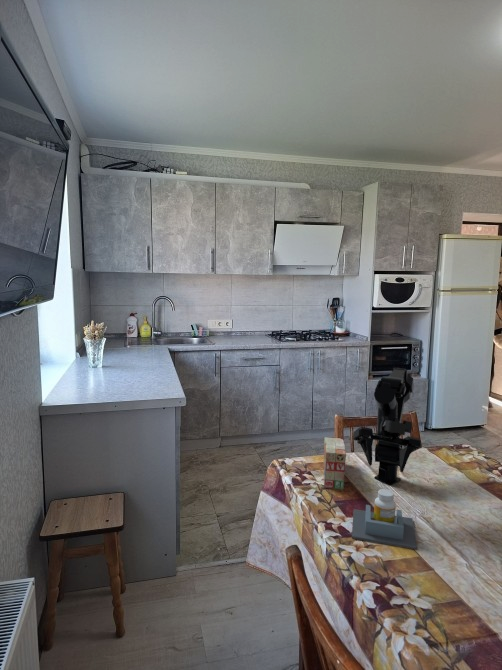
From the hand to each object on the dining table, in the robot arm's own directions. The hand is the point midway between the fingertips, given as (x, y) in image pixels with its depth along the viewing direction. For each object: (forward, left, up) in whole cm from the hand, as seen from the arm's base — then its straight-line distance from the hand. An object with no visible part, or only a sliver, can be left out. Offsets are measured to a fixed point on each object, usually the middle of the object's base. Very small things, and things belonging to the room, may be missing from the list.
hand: (386, 468), depth 125 cm
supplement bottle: (+8, +5, -13) cm, 16 cm away
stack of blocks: (-7, -25, -13) cm, 29 cm away
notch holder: (+8, +5, -13) cm, 16 cm away
